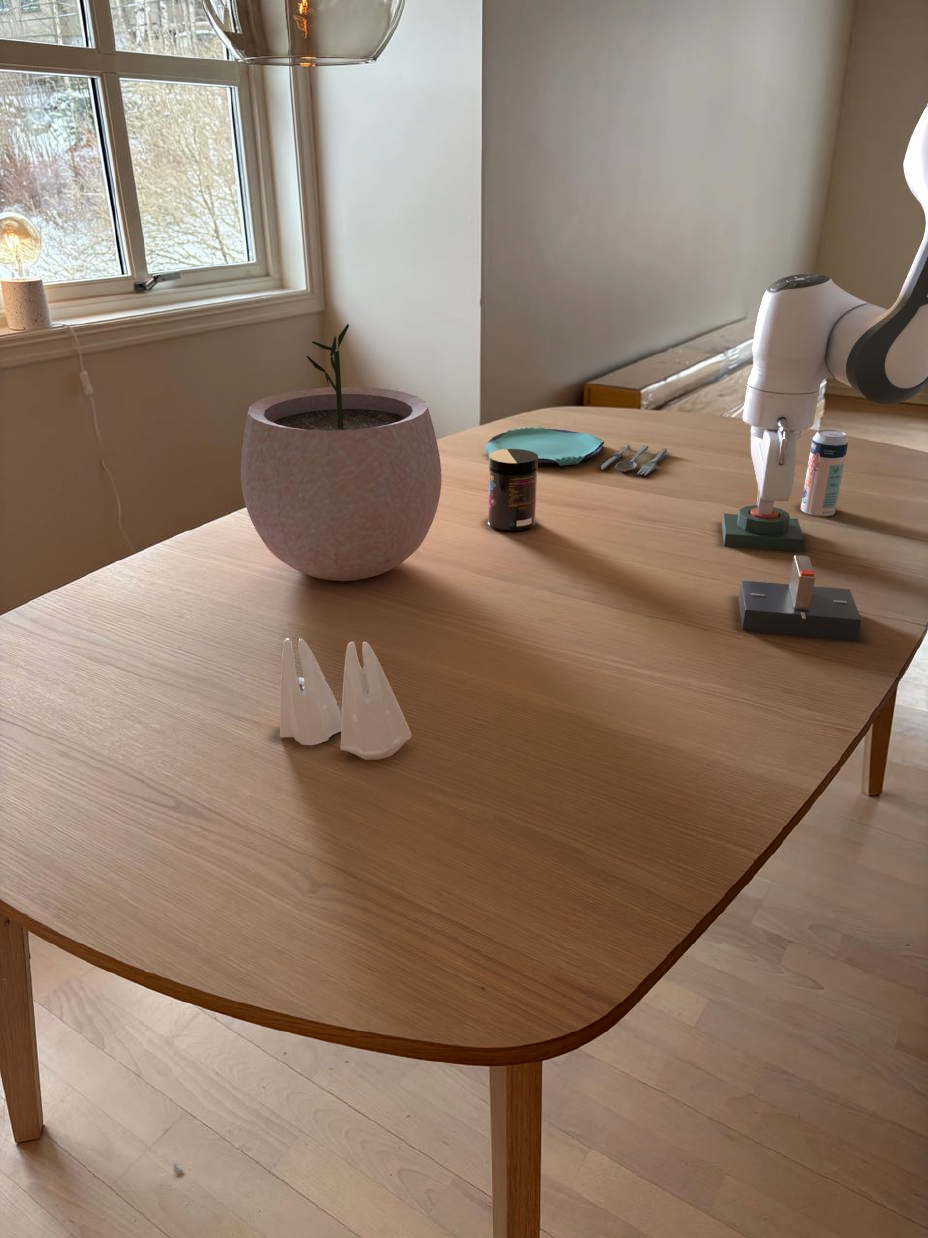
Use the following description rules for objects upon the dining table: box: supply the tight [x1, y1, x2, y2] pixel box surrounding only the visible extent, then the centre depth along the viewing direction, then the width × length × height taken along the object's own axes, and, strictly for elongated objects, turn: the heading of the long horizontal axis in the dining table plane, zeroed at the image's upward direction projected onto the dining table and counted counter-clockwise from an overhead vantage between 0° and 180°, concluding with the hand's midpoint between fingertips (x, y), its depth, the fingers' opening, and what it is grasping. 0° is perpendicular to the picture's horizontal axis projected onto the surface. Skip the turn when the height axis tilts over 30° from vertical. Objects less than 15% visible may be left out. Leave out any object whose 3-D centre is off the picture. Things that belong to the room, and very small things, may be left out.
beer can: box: [800, 429, 849, 517], centre depth 137 cm, size 5×5×12 cm
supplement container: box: [487, 449, 539, 534], centre depth 132 cm, size 7×7×10 cm
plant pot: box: [240, 323, 442, 582], centre depth 114 cm, size 24×24×30 cm
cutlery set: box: [484, 426, 668, 476], centre depth 163 cm, size 20×30×2 cm, turn 64°
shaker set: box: [279, 637, 412, 761], centre depth 83 cm, size 12×4×11 cm, turn 64°
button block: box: [721, 504, 805, 553], centre depth 129 cm, size 10×8×4 cm
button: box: [750, 508, 778, 519], centre depth 128 cm, size 4×4×2 cm
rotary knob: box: [788, 554, 816, 611], centre depth 105 cm, size 6×2×4 cm, turn 168°
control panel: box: [738, 580, 862, 642], centre depth 107 cm, size 12×10×3 cm
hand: (763, 511), depth 128 cm, fingers closed, pressing on button
